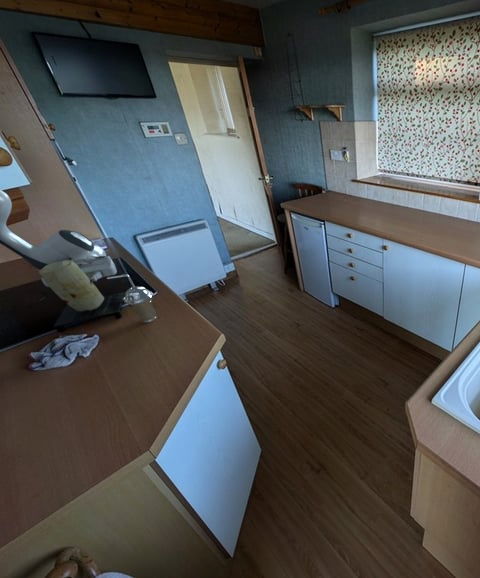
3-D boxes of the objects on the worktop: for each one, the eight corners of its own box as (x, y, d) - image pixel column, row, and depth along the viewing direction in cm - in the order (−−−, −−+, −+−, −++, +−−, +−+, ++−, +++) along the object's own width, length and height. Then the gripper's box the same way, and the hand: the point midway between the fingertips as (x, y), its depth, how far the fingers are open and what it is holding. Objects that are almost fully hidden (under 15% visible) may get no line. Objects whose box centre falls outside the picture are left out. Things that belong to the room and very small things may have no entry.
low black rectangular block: (57, 333, 103) (52, 326, 101) (71, 310, 114) (66, 304, 113) (121, 318, 110) (118, 311, 109) (128, 298, 122) (124, 291, 121)
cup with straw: (159, 323, 108) (136, 276, 97) (130, 328, 105) (103, 280, 95) (166, 310, 114) (144, 265, 104) (138, 315, 112) (114, 269, 102)
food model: (103, 295, 115) (69, 254, 101) (109, 304, 112) (75, 262, 99) (72, 309, 109) (31, 266, 96) (77, 318, 106) (36, 275, 93)
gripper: (45, 266, 109) (30, 282, 99) (114, 254, 118) (107, 268, 108) (54, 280, 112) (41, 297, 102) (121, 268, 121) (115, 283, 111)
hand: (76, 282), depth 105 cm, fingers closed on food model, 8 cm apart
